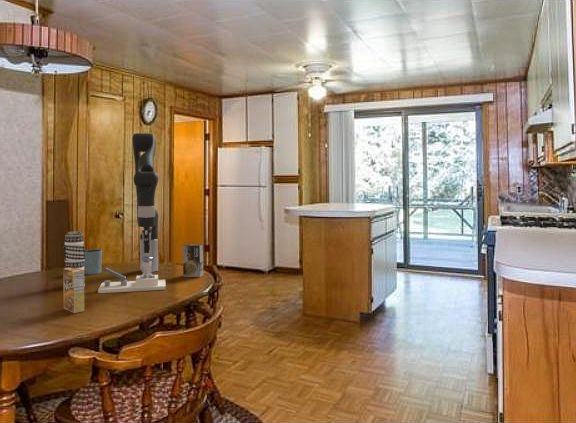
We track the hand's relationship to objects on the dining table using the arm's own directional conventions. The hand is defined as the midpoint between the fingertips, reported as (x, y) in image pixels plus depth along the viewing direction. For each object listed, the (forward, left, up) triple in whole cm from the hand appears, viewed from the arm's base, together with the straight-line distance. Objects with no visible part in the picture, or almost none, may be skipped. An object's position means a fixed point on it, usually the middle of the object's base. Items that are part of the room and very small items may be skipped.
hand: (147, 251), depth 209 cm
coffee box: (-21, +22, -17) cm, 35 cm away
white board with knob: (0, -6, -16) cm, 17 cm away
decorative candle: (-10, -32, -17) cm, 37 cm away
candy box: (+34, -25, -17) cm, 45 cm away
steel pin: (0, 0, -15) cm, 15 cm away
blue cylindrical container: (-42, -29, -17) cm, 54 cm away
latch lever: (0, -14, -10) cm, 17 cm away
